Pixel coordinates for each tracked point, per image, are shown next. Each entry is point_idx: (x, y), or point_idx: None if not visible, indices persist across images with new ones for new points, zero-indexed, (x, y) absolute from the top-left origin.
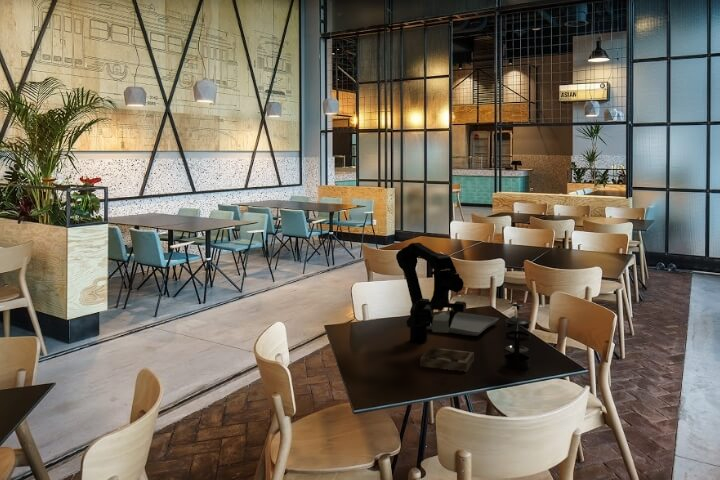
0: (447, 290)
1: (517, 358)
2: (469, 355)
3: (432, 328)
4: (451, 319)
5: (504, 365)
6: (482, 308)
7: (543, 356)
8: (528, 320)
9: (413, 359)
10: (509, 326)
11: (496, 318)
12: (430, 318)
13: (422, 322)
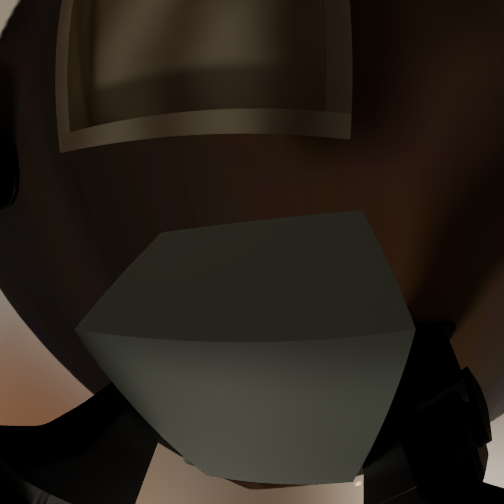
0: None
1: None
2: (63, 89)
3: (372, 231)
4: (99, 396)
5: (8, 139)
6: (253, 487)
7: (4, 272)
8: None
9: (414, 41)
10: None
11: (191, 463)
12: (414, 424)
13: (427, 414)
